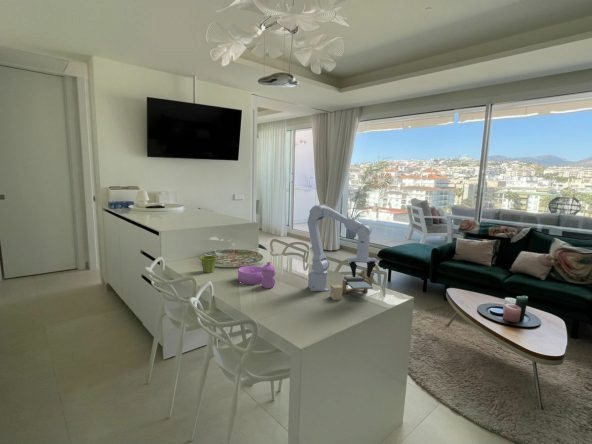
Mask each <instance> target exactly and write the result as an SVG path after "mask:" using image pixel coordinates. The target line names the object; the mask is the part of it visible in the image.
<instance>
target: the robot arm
mask: <svg viewBox="0 0 592 444" xmlns="http://www.w3.org/2000/svg"><path fill="white" fill-rule="evenodd" d="M326 217H330V218H332V219H334V220H336V221H338V222H340V223H342V224H343V226H344V228H345V229H348V230H349V231H351V232H353V233H354V234H356V235H357V245H356V246H357V247H356V257H348V258H347V263H348V264H349V266H350V269H351V276H353V277H355V276H357V275H356V272H357V267H358V264H357V263H366V270H367V276H368V277H370V275H371V273H373V269H374V268H375V267H376V264H377V262H378V259H377V258H376V257H370V255H369V254H370V243H371V242H370V240H371V234H372V232H373V231H372V228H371V227H370V225H369V224H365V223H364V222H361V221H358V220H357V219H356V217H352V216H350V217H346V216H345V215H343V214H342V213H340V212H338V211H336V210H335V209H333V208H331V207H330V206H327V205H326V204H320V205H319V204H318V205H313V206H312V207H311V209H309V214H308V219H307V226H308V232H309V236H310V241H311V242H310V243H311V248H312V253H313V256H312V259H311V260H312V264H311V269H312V272H309V273H308V283H307V284H308V285H307V287H308V289H309V290H310V292H322V291H323V292H326V291H327V292H328V291H330V289H329V288H328V287H327V283H328V269H329V268H330V262H329V259H328V258H327V255H326V253H324V248H323V243H322V242H323V241H322V238H321V232H320V231H321V230H320V227H319V224H320V222H321V220H322V219H324V218H326Z"/></svg>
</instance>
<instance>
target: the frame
mask: <svg viewBox="0 0 592 444" xmlns="http://www.w3.org/2000/svg"><path fill="white" fill-rule="evenodd" d="M356 282H366V283H368V280H367V279H364V281H356ZM346 284H347V281H346V280H344V279H342V285H341V286H342V287H343V290H342V294H347V293H352V292H353V293H354V292H355V293H356V292H357V293H358V292H359V293H361V292H363V293H365V294H367V293H368V291H369V289H352V288H351V287H350V288H347V285H346Z"/></svg>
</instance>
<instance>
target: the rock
mask: <svg viewBox="0 0 592 444" xmlns="http://www.w3.org/2000/svg"><path fill="white" fill-rule="evenodd" d="M357 276H361V277H362V278H363V281H364V279H367V280H368V284H369V285H370V286H372V287H373V283H374V282H375V278H374V276H375V273H374V272H371V275H370V277H368V276H367V269H363V270H361V271H360V272H359V273H358V274H357Z"/></svg>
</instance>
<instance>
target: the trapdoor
mask: <svg viewBox="0 0 592 444" xmlns="http://www.w3.org/2000/svg"><path fill="white" fill-rule="evenodd" d="M343 280H346V281H347V284H346V286H348V287H350V288H352V289H368V290H373V285H372V286H370V285H369V284H368V283H366V282H356V281H363V278H362V277H361V276H358V275H356V276H355V277H353V276H352V275H344V276H343Z"/></svg>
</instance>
